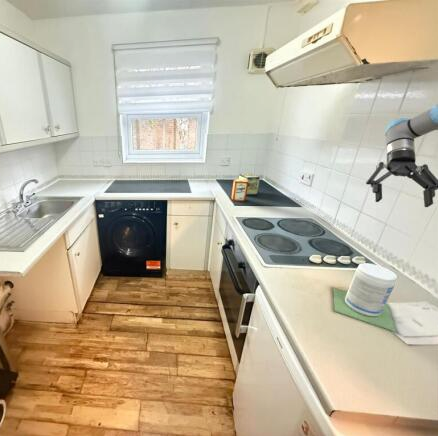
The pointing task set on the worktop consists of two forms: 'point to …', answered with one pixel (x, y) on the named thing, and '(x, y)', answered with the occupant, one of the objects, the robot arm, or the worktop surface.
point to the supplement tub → (370, 289)
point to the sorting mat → (380, 320)
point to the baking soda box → (239, 190)
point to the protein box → (251, 183)
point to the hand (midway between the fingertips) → (403, 202)
